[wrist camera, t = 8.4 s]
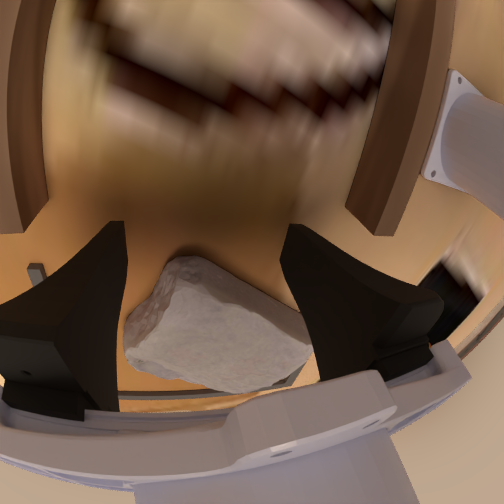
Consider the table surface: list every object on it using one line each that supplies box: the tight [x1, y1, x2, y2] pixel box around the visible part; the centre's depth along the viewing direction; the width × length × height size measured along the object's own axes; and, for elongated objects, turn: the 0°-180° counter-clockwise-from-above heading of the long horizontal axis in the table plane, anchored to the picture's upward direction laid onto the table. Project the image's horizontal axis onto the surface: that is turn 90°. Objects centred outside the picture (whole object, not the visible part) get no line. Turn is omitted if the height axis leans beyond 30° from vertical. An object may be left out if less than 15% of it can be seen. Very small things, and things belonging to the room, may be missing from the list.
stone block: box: [123, 256, 314, 393], centre depth 18 cm, size 12×5×10 cm
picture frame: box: [454, 297, 504, 360], centre depth 49 cm, size 16×2×22 cm
